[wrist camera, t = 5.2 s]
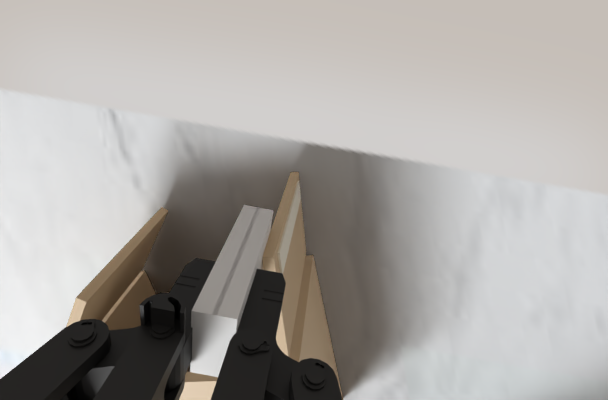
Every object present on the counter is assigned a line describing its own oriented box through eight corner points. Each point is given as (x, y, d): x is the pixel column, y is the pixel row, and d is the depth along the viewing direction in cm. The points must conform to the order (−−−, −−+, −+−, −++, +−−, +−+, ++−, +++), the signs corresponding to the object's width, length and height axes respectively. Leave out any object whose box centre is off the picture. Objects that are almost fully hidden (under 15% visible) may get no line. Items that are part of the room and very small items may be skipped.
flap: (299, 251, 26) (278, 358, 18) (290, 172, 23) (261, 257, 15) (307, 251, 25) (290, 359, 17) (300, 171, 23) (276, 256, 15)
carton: (343, 398, 33) (342, 541, 24) (200, 402, 35) (151, 533, 27) (313, 254, 26) (296, 379, 17) (138, 271, 29) (43, 388, 20)
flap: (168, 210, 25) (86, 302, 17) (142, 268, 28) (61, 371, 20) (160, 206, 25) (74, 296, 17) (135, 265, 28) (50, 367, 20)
